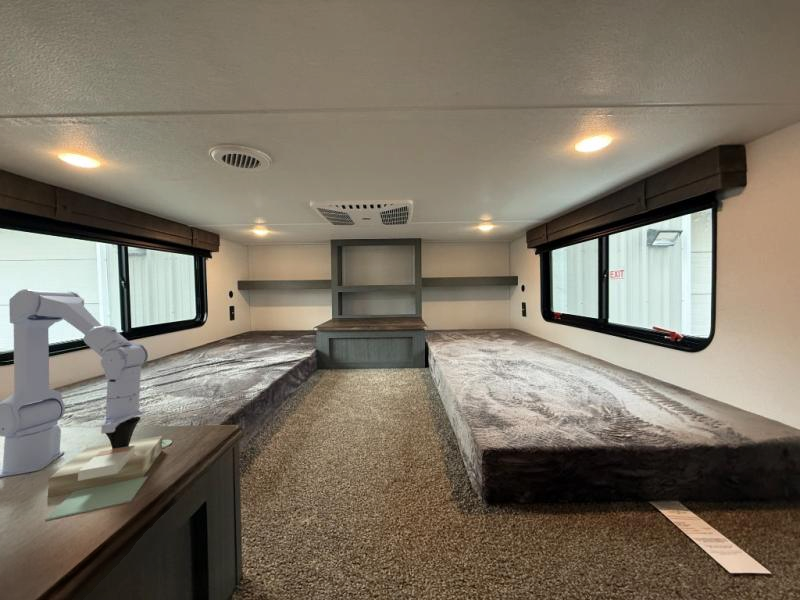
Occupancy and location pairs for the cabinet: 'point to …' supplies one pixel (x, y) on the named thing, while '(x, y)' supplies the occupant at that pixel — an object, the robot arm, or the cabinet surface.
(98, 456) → the white striped box
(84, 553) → the cabinet surface
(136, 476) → the cream piece
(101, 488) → the mat
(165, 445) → the sign
